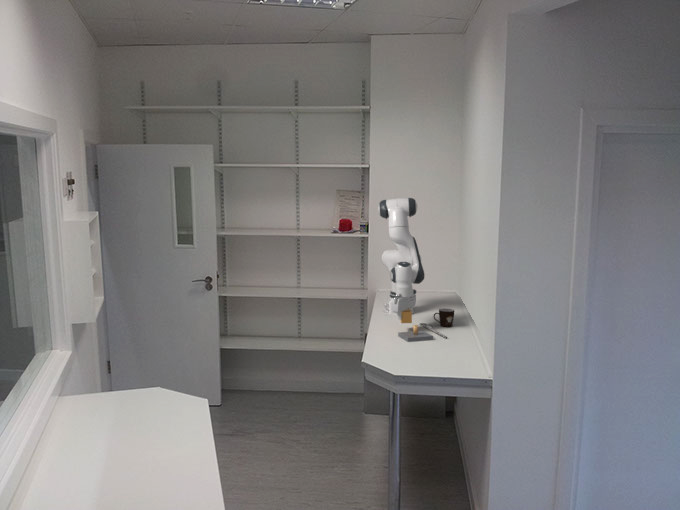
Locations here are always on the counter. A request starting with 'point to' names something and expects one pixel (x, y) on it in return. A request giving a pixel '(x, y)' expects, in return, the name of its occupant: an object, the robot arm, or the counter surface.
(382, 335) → the counter surface
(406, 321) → the tan wooden cube
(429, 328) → the caliper
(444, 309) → the coffee mug
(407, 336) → the flat gray plate
